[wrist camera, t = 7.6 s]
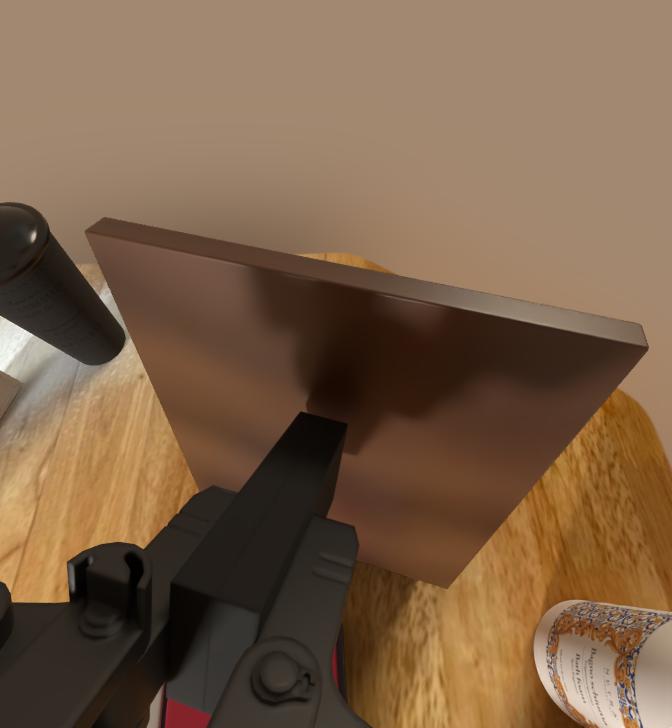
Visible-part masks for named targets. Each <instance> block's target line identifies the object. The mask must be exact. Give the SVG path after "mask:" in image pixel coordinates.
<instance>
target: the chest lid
mask: <svg viewBox="0 0 672 728" xmlns="http://www.w3.org/2000/svg"><path fill="white" fill-rule="evenodd" d="M85 234H86V237H87V238H88V241H89V243H90V246H91V248H92V250H93V252H94V254H95V257H96V259H97V261H98V264H99V266H100V268H101V270H102V273H103V275H104V277H105V279H106V282H107V284H108V286H109V288H110V291H111V293H112V295H113V297H114V300H115V302H116V304H117V306H118V309H119V311H120V313H121V315H122V318H123V320H124V322H125V324H126V327H127V329H128V331H129V333H130V336H131V338H132V340H133V342H134V345H135V347H136V349H137V351H138V354H139V356H140V358H141V360H142V363H143V365H144V367H145V369H146V372H147V374H148V376H149V379H150V381H151V383H152V385H153V388H154V390H155V392H156V394H157V397H158V399H159V401H160V403H161V406H162V408H163V410H164V412H165V415H166V417H167V419H168V421H169V424H170V426H171V428H172V430H173V433H174V435H175V437H176V439H177V442H178V444H179V446H180V448H181V451H182V453H183V455H184V457H185V460H186V462H187V464H188V466H189V469H190V471H191V473H192V475H193V478H194V480H195V482H196V484H197V487H198V489H199V491H200V492H201V491H203V490H205V489H207V488H209V487H211V486H213V485H214V486H218V487H221V488H224V489H228V490H231V491H234V492H239V491H240V490H241V489H242V487H243V486H244V485H245V483H246V482H247V481H248V479H249V478H250V477H251V475H252V474H253V473H254V471H255V470H256V469H257V468H258V466H259V465H260V464H261V462H262V461H263V460H264V458H265V457H266V456H267V454H268V453H269V452H270V451H271V449H272V448H273V447H274V445H275V444H276V443H277V441H278V440H279V439H280V437H281V436H282V435H283V433H284V432H285V431H286V430H287V428H288V427H289V426H290V424H291V423H292V422H293V420H294V419H295V418H296V416H297V415H298V414H299V412H300V411H301V412H305V413H309V414H313V415H317V416H321V417H325V418H328V419H332V420H336V421H340V422H344V423H348V427H347V432H346V437H345V443H344V448H343V453H342V458H341V463H340V468H339V473H338V478H337V484H336V489H335V494H334V499H333V501H332V504H331V507H330V509H329V512H328V514H327V517H326V518H329V519H333V520H336V521H339V522H343V523H346V524H349V525H353V526H355V529H356V533H357V537H358V541H359V549H358V554H357V558H356V560H357V561H360V562H364V563H367V564H370V565H373V566H376V567H379V568H382V569H385V570H389V571H392V572H395V573H398V574H401V575H404V576H407V577H411V578H414V579H417V580H420V581H423V582H426V583H429V584H432V585H436V586H439V587H442V588H445V589H448V588H449V586H450V585H451V584H452V583H453V582H454V580H455V579H456V578H457V577H458V576H459V574H460V573H461V572H462V571H463V570H464V568H465V567H466V566H467V565H468V564H469V563H470V561H471V560H472V559H473V558H474V557H475V555H476V554H477V553H478V552H479V551H480V549H481V548H482V547H483V546H484V545H485V544H486V542H487V541H488V540H489V539H490V538H491V536H492V535H493V534H494V533H495V532H496V530H497V529H498V528H499V527H500V526H501V524H502V523H503V522H504V521H505V520H506V519H507V517H508V516H509V515H510V514H511V513H512V511H513V510H514V509H515V508H516V507H517V505H518V504H519V503H520V502H521V501H522V500H523V498H524V497H525V496H526V495H527V494H528V492H529V491H530V490H531V489H532V488H533V486H534V485H535V484H536V483H537V482H538V480H539V479H540V478H541V477H542V476H543V475H544V473H545V472H546V471H547V470H548V469H549V467H550V466H551V465H552V464H553V463H554V461H555V460H556V459H557V458H558V457H559V456H560V454H561V453H562V452H563V451H564V450H565V448H566V447H567V446H568V445H569V444H570V442H571V441H572V440H573V439H574V438H575V436H576V435H577V434H578V433H579V432H580V431H581V429H582V428H583V427H584V426H585V425H586V423H587V422H588V421H589V420H590V419H591V417H592V416H593V415H594V414H595V413H596V412H597V410H598V409H599V408H600V407H601V406H602V404H603V403H604V402H605V401H606V400H607V398H608V397H609V396H610V395H611V394H612V392H613V391H614V390H615V389H616V388H617V387H618V385H619V384H620V383H621V382H622V381H623V379H624V378H625V377H626V376H627V375H628V373H629V372H630V371H631V370H632V369H633V368H634V366H635V365H636V364H637V363H638V362H639V360H640V359H641V358H642V357H643V356H644V354H645V353H646V352H647V351H648V348H649V347H648V343H647V340H646V337H645V334H644V332H643V328H642V326H641V325H640V324H639V323H634V322H629V321H623V320H619V319H613V318H608V317H604V316H599V315H594V314H589V313H583V312H578V311H573V310H568V309H563V308H558V307H553V306H548V305H543V304H538V303H533V302H528V301H523V300H518V299H513V298H508V297H503V296H498V295H493V294H488V293H483V292H478V291H473V290H468V289H463V288H458V287H453V286H448V285H443V284H438V283H433V282H428V281H422V280H418V279H413V278H408V277H403V276H398V275H393V274H388V273H383V272H378V271H373V270H368V269H363V268H358V267H353V266H348V265H343V264H338V263H333V262H328V261H323V260H318V259H313V258H308V257H303V256H298V255H292V254H288V253H282V252H277V251H273V250H268V249H262V248H257V247H253V246H247V245H242V244H237V243H232V242H227V241H222V240H217V239H212V238H207V237H202V236H197V235H192V234H187V233H182V232H177V231H172V230H167V229H162V228H157V227H152V226H147V225H142V224H137V223H132V222H127V221H122V220H117V219H112V218H107V217H104V218H102V219H101V220H99V221H98V222H96V223H95V224H94V225H92V226H91V227H89V228H88V229H86V230H85Z"/></svg>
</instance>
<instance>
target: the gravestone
mask: <svg viewBox="0 0 672 728" xmlns="http://www.w3.org/2000/svg"><path fill="white" fill-rule="evenodd" d="M22 385H23V383H22V382H20V381H18V380H16V379H15V378H13V377H11V376H9V375H7V374H6V373H4V372H2V371H0V419H1V417H2V416H3V414H4V413H5V411H6V409H7V408H8V406H9V405H10V403H11V402H12V400H13V399H14V397H15V396H16V394H17V392H18V391H19V389H20V388H21V386H22Z"/></svg>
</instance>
